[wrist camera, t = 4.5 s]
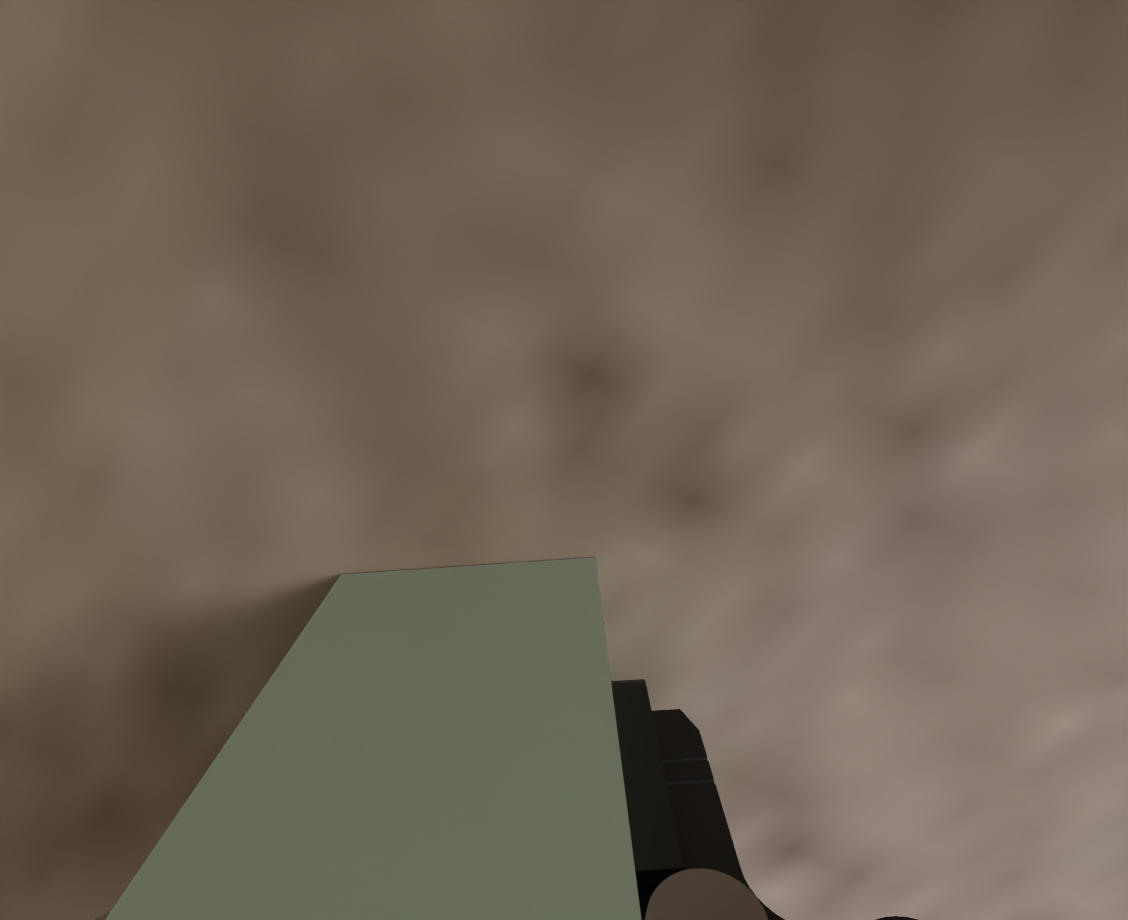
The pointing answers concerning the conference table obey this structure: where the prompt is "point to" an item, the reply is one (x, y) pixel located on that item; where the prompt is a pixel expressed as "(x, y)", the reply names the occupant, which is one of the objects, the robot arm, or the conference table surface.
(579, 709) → the module
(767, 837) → the conference table surface
